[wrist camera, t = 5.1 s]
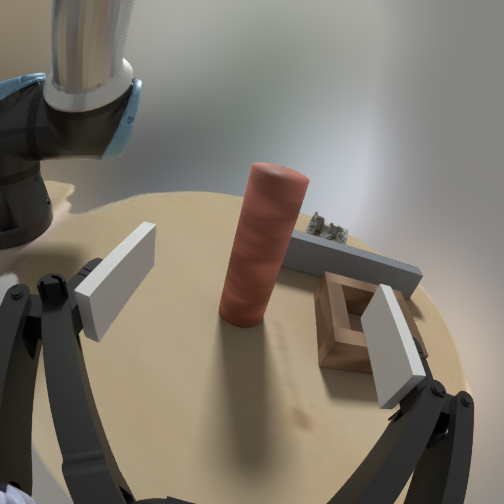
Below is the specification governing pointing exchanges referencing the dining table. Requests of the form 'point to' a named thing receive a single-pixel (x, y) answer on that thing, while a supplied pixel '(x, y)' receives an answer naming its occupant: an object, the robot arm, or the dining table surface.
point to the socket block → (338, 326)
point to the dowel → (261, 241)
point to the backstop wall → (349, 263)
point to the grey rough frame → (326, 229)
